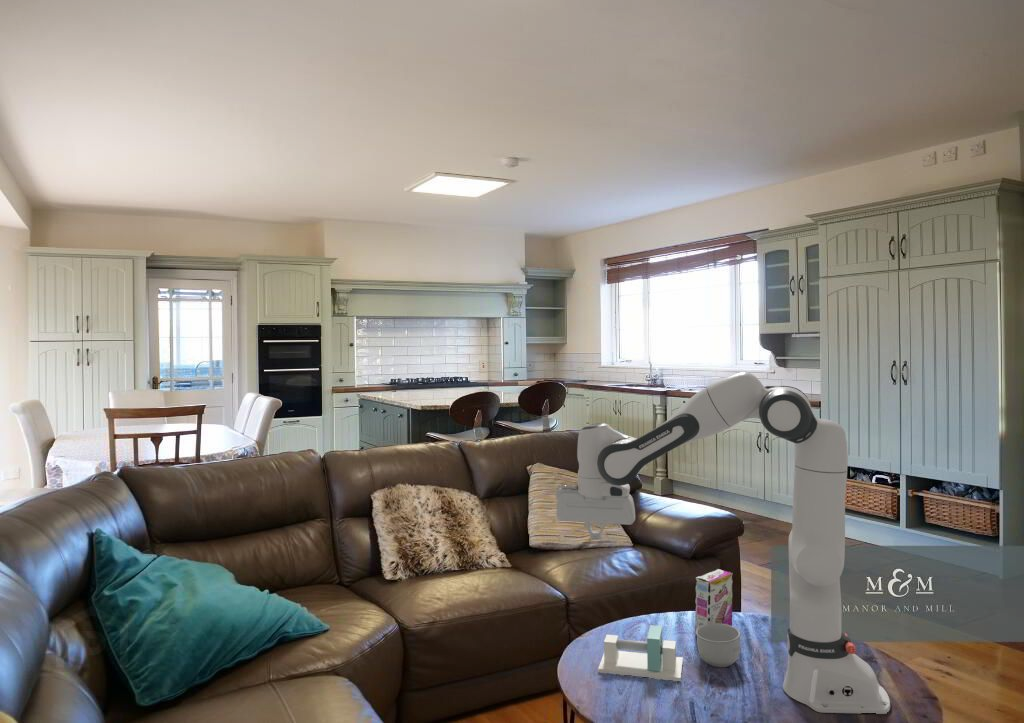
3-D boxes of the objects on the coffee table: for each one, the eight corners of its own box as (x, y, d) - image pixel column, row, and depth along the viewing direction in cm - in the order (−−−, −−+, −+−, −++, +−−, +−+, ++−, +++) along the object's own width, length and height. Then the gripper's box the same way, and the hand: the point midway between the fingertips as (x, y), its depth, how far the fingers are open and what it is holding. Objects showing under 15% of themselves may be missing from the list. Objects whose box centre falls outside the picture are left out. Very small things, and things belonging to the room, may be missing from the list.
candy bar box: (710, 641, 196) (709, 582, 195) (694, 635, 200) (694, 577, 199) (733, 629, 203) (733, 572, 203) (718, 624, 207) (718, 567, 206)
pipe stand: (683, 661, 185) (682, 635, 185) (680, 681, 175) (680, 654, 174) (605, 652, 191) (604, 628, 190) (598, 672, 180) (597, 646, 180)
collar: (662, 656, 185) (662, 626, 185) (659, 671, 177) (659, 639, 177) (650, 655, 186) (650, 625, 186) (647, 670, 178) (647, 638, 178)
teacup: (742, 673, 178) (742, 641, 178) (697, 670, 180) (697, 638, 180) (736, 648, 192) (736, 618, 191) (694, 645, 194) (694, 616, 194)
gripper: (552, 487, 186) (553, 540, 187) (632, 490, 181) (633, 545, 181) (558, 481, 192) (559, 533, 193) (635, 485, 187) (636, 537, 187)
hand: (595, 539), depth 187 cm, fingers closed
